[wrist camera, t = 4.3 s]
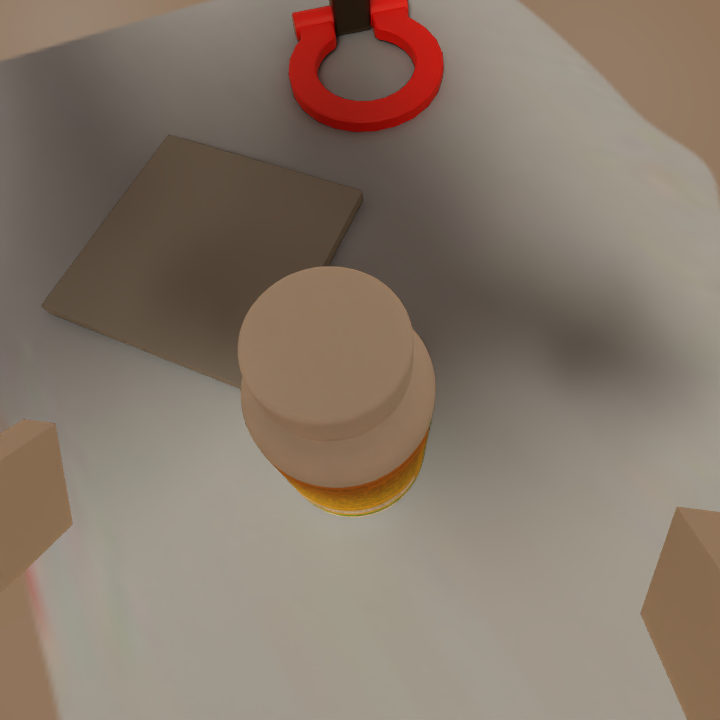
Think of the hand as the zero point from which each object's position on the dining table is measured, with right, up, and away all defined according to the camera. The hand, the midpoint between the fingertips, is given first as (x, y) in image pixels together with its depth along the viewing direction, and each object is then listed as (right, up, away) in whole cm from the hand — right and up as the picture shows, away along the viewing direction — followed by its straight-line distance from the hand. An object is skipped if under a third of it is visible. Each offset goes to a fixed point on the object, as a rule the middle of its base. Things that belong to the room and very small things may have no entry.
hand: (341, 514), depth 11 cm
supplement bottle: (0, 0, +9) cm, 9 cm away
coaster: (-7, +8, +13) cm, 17 cm away
